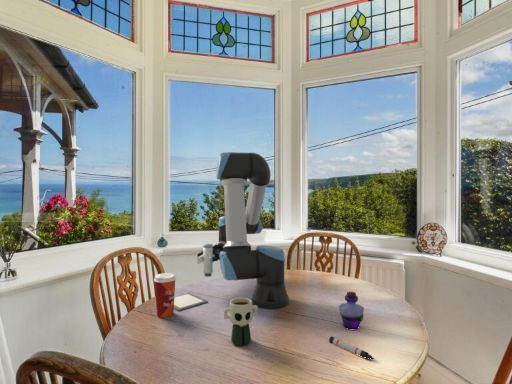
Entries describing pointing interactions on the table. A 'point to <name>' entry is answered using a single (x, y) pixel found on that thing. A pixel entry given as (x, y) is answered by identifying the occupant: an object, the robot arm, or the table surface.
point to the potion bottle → (351, 311)
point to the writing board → (187, 301)
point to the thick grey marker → (206, 254)
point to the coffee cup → (165, 294)
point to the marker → (349, 347)
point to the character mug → (240, 319)
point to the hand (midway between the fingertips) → (203, 261)
